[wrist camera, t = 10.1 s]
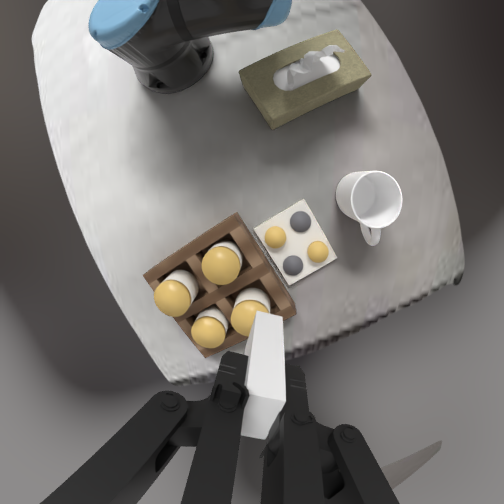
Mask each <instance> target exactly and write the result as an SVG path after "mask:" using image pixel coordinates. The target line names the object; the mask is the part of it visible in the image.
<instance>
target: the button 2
mask: <svg viewBox="0 0 504 504" xmlns="http://www.w3.org/2000/svg"><path fill="white" fill-rule="evenodd" d="M228 325H229V321H228V319H227V318H226V317H225V315H224V314H223V312H222V311H221V310H220V308H219V307H218V306H217V305H216V304H212V305H210V306H209V307H207V308H205V309H203V310H201V311H200V313H199V315H198V317H197V318H196V320H195V322H194V324H193V326H192V329H191V334H192V337H193V339H194V341H195V342H196V343H197V344H199V345H200V346H202V347H205V348H216V347H218V346H220V345H221V344H222V343H223V341H224V339H225V335H226V332H227V329H228Z"/></svg>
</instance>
